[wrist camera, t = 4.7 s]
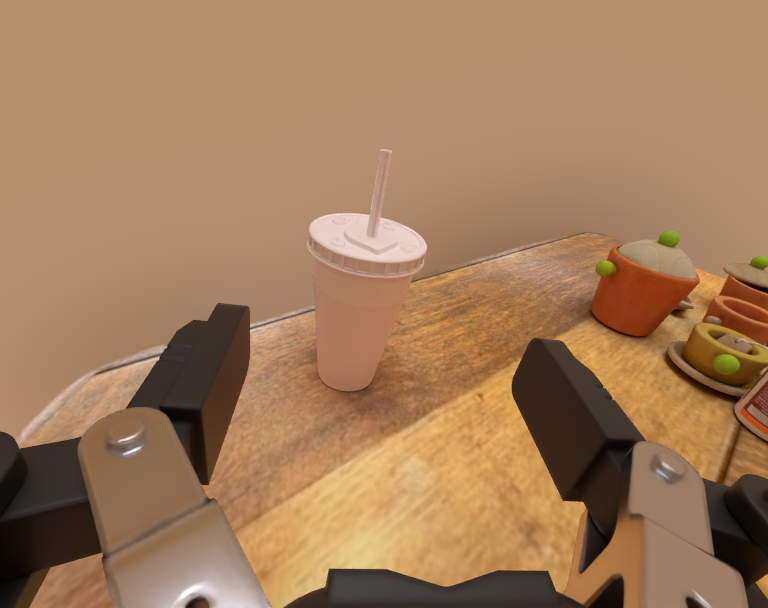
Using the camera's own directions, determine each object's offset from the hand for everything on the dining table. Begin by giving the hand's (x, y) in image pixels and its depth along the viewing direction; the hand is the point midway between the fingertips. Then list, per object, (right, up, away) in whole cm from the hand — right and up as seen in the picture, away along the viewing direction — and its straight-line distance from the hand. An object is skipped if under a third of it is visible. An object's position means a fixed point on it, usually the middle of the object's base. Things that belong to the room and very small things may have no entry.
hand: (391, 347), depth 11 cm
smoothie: (-3, -3, +14) cm, 15 cm away
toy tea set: (+31, -1, +30) cm, 44 cm away
